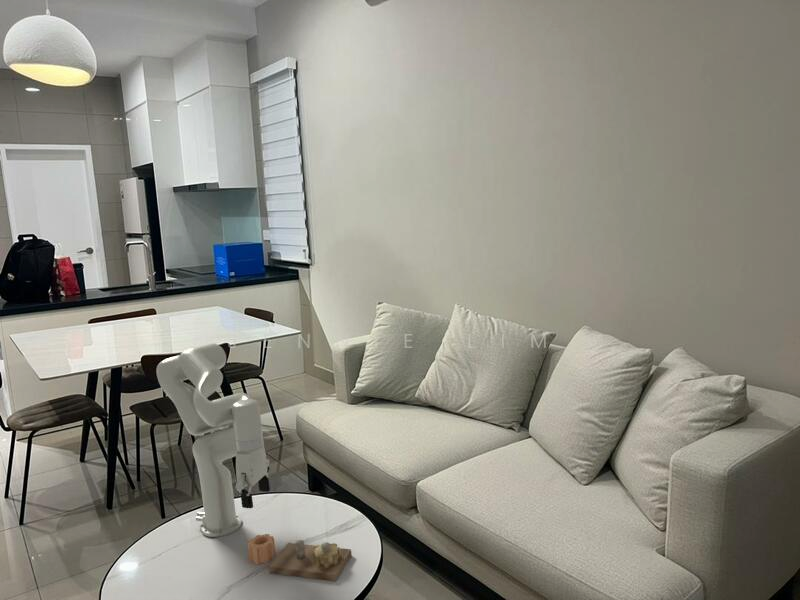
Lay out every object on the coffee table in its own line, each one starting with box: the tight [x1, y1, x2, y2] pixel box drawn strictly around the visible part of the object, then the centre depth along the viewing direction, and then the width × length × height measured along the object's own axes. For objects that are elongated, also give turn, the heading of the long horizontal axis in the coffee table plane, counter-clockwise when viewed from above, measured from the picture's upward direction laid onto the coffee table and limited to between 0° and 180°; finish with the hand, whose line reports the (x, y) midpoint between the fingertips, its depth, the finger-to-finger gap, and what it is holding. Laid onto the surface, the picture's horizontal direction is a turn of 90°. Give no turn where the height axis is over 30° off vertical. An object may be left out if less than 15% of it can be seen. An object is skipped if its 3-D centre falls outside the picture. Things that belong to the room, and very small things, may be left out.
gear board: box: [268, 539, 353, 582], centre depth 172 cm, size 20×12×6 cm, turn 74°
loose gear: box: [247, 533, 277, 565], centre depth 178 cm, size 7×7×5 cm
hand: (256, 499), depth 175 cm, fingers open, 9 cm apart
